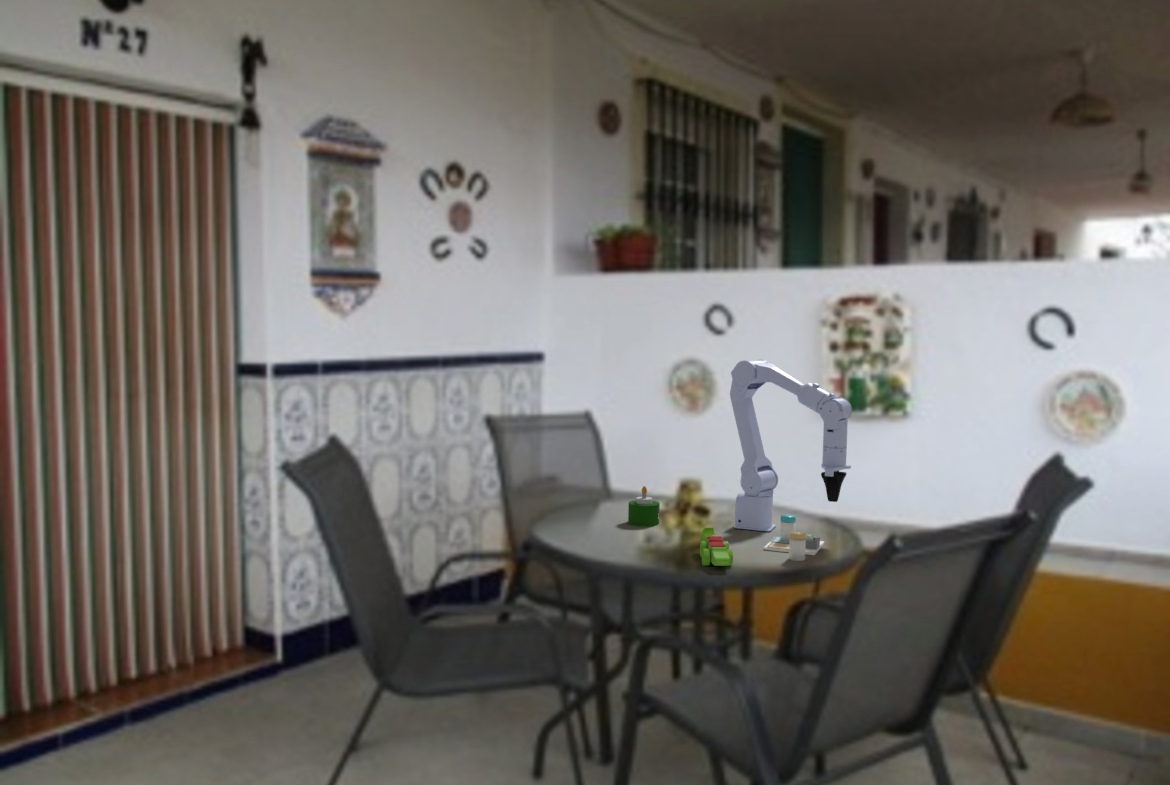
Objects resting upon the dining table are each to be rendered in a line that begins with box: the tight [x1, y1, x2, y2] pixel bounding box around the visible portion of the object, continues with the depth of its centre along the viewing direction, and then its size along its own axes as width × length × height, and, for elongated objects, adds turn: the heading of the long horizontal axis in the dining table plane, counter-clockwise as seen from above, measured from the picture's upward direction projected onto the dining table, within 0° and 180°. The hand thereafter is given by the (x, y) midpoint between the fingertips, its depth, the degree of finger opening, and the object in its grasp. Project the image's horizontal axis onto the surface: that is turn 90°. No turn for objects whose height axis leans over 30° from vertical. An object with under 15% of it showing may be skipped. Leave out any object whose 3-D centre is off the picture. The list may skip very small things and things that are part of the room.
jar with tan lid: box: [788, 531, 807, 562], centre depth 229 cm, size 4×4×6 cm
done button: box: [806, 533, 814, 540], centre depth 238 cm, size 2×2×2 cm
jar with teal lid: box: [779, 513, 797, 542], centre depth 244 cm, size 4×4×6 cm
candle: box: [627, 485, 661, 527], centre depth 265 cm, size 8×8×10 cm
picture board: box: [763, 535, 825, 556], centre depth 241 cm, size 12×13×3 cm
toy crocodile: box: [699, 526, 734, 567], centre depth 226 cm, size 20×7×6 cm, turn 178°
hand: (832, 501), depth 247 cm, fingers closed
